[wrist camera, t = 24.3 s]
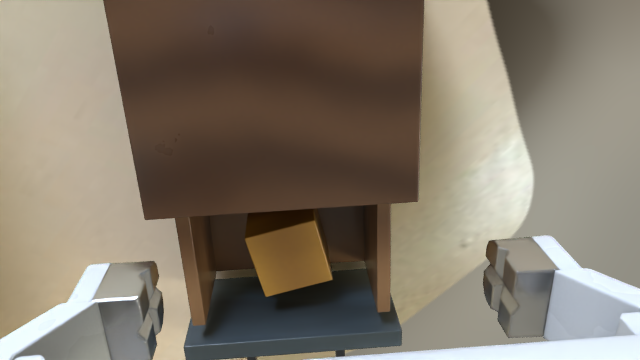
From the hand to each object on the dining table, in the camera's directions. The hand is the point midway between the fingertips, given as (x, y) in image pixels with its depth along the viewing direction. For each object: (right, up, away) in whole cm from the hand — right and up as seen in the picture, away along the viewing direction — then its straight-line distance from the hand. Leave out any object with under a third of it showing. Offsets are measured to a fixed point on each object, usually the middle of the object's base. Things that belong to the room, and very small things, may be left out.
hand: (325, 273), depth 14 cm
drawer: (-2, -2, +26) cm, 26 cm away
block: (-2, -1, +24) cm, 24 cm away
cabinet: (-3, +11, +21) cm, 24 cm away
